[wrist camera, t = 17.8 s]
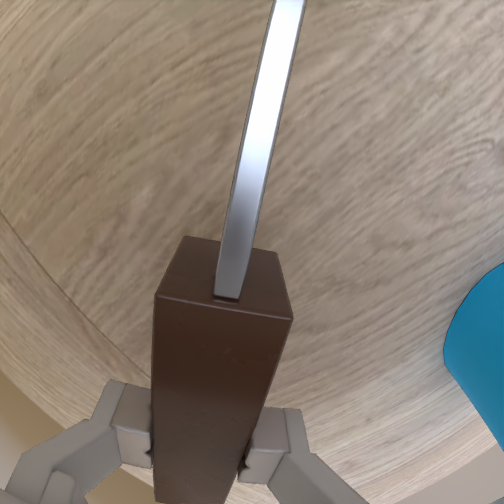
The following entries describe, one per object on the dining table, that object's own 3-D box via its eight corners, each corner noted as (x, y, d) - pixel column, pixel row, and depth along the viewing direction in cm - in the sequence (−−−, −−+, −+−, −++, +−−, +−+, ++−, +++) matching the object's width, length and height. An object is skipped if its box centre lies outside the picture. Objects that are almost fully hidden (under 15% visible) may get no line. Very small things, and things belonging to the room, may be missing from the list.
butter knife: (165, 441, 11) (154, 502, 8) (271, -118, 4) (281, -178, 1) (223, 451, 11) (221, 512, 9) (353, -99, 4) (386, -152, 1)
